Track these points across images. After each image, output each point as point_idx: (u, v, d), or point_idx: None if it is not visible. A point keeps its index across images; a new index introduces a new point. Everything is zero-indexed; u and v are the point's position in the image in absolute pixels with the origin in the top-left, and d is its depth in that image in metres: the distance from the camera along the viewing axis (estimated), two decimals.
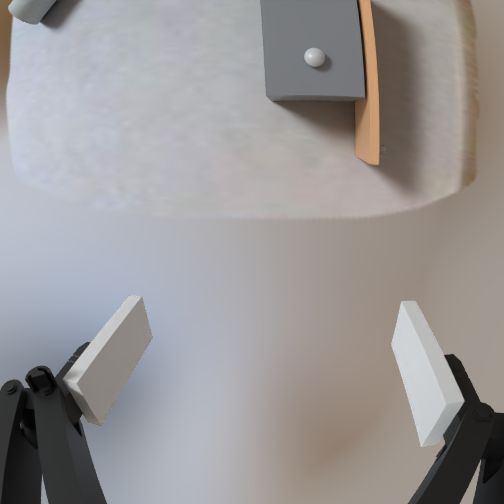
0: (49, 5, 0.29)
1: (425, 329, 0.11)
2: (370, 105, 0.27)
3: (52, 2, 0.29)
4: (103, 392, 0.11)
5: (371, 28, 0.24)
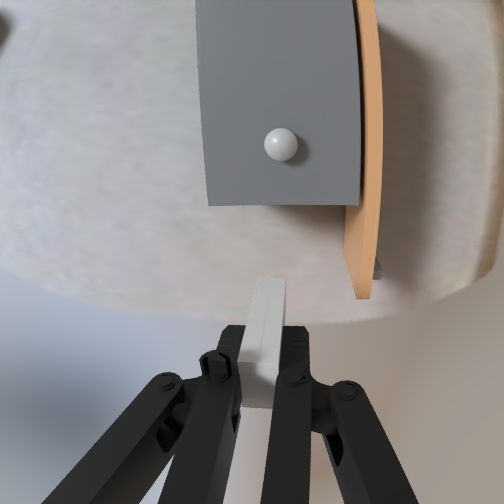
0: None
1: (278, 301, 0.15)
2: (366, 219, 0.20)
3: None
4: None
5: (378, 87, 0.16)
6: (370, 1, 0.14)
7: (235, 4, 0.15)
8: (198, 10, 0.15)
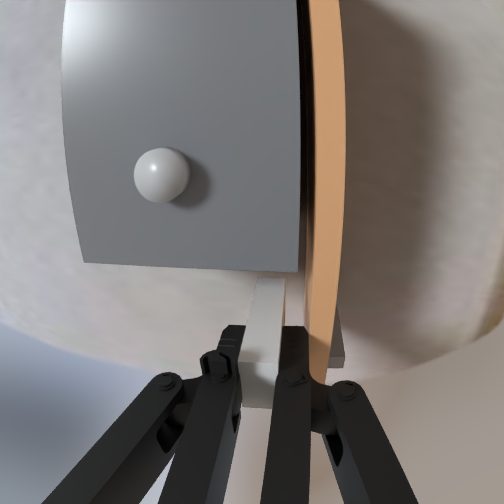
0: None
1: (277, 301, 0.15)
2: (314, 294, 0.12)
3: None
4: None
5: (337, 65, 0.09)
6: None
7: None
8: None
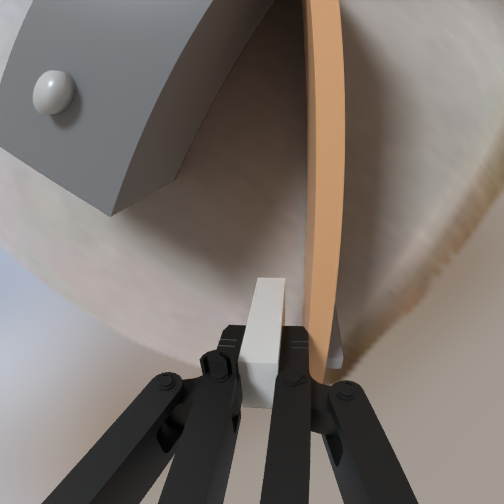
0: None
1: (277, 301, 0.15)
2: (313, 296, 0.13)
3: None
4: None
5: (337, 69, 0.09)
6: None
7: None
8: None
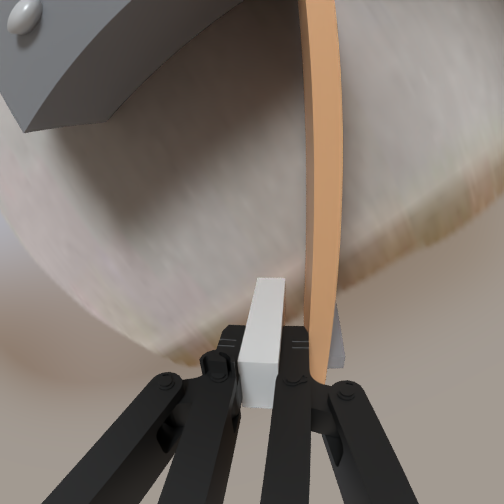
0: None
1: (277, 301, 0.15)
2: (313, 295, 0.12)
3: None
4: None
5: (333, 66, 0.09)
6: None
7: None
8: None
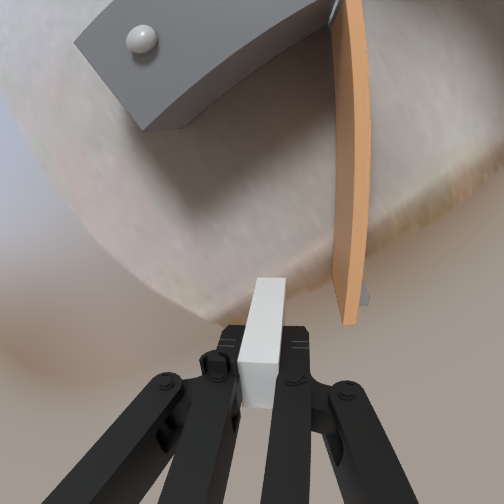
0: None
1: (278, 301, 0.15)
2: (352, 246, 0.20)
3: None
4: None
5: (366, 110, 0.16)
6: (360, 18, 0.14)
7: None
8: None
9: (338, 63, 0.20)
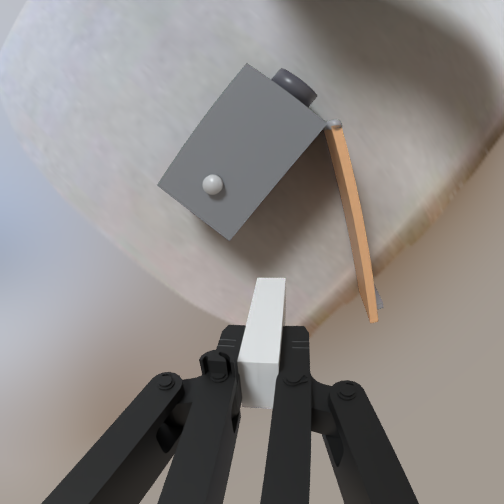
0: None
1: (278, 301, 0.15)
2: (365, 279, 0.33)
3: None
4: None
5: (357, 203, 0.31)
6: (343, 145, 0.29)
7: (253, 94, 0.28)
8: (233, 81, 0.28)
9: (334, 161, 0.34)
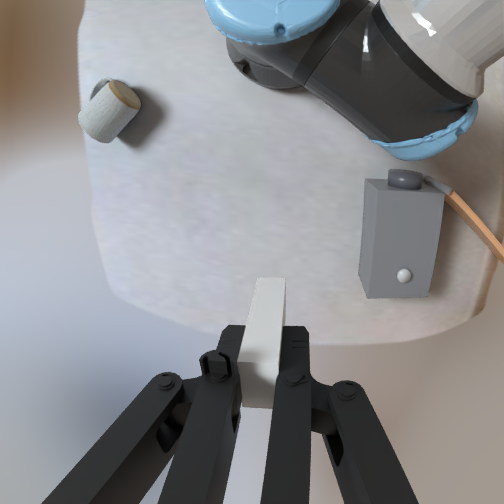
0: (127, 123, 0.43)
1: (278, 301, 0.15)
2: None
3: None
4: None
5: (482, 224, 0.36)
6: (460, 199, 0.36)
7: (395, 207, 0.38)
8: (378, 207, 0.38)
9: (450, 202, 0.41)
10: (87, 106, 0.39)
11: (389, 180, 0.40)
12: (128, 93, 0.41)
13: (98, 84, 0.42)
